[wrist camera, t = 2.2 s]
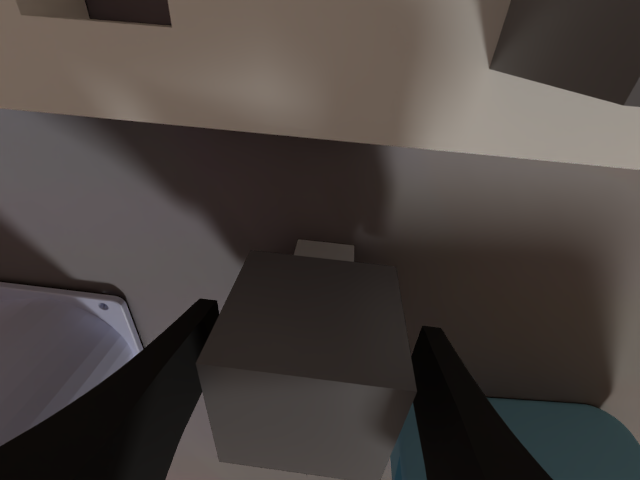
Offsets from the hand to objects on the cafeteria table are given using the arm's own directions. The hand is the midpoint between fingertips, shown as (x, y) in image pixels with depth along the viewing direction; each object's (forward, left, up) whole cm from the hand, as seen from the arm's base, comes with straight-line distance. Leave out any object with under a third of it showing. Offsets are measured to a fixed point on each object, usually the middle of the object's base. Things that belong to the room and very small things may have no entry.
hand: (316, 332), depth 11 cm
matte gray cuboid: (0, 0, -4) cm, 4 cm away
